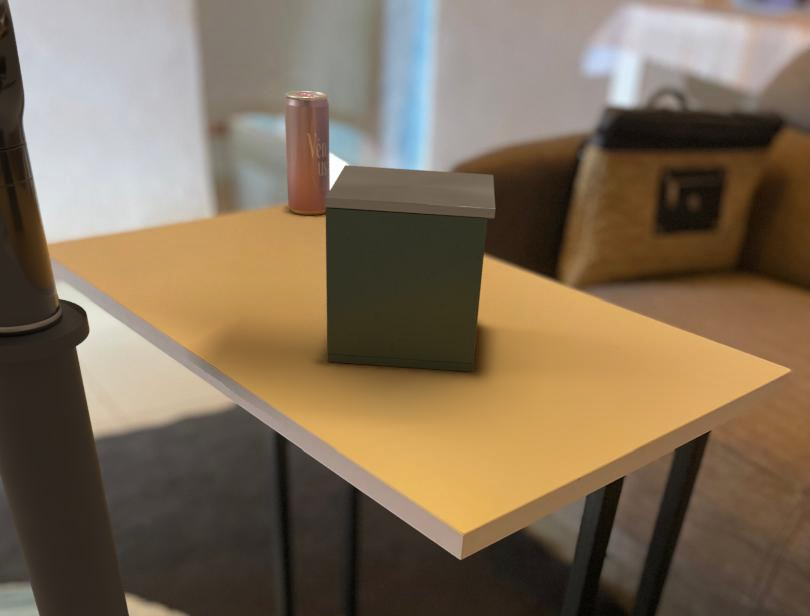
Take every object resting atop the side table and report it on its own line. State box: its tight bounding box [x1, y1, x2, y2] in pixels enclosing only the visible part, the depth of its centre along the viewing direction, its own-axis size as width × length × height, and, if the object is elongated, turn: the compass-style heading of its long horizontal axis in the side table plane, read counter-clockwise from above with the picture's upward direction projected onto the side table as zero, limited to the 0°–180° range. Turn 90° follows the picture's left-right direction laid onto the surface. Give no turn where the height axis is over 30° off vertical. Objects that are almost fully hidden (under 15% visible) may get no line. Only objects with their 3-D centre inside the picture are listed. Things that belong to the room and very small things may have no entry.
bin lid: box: [325, 164, 496, 219], centre depth 75 cm, size 14×13×1 cm
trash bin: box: [325, 207, 488, 373], centre depth 79 cm, size 14×13×14 cm
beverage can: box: [284, 90, 331, 216], centre depth 117 cm, size 6×6×15 cm
